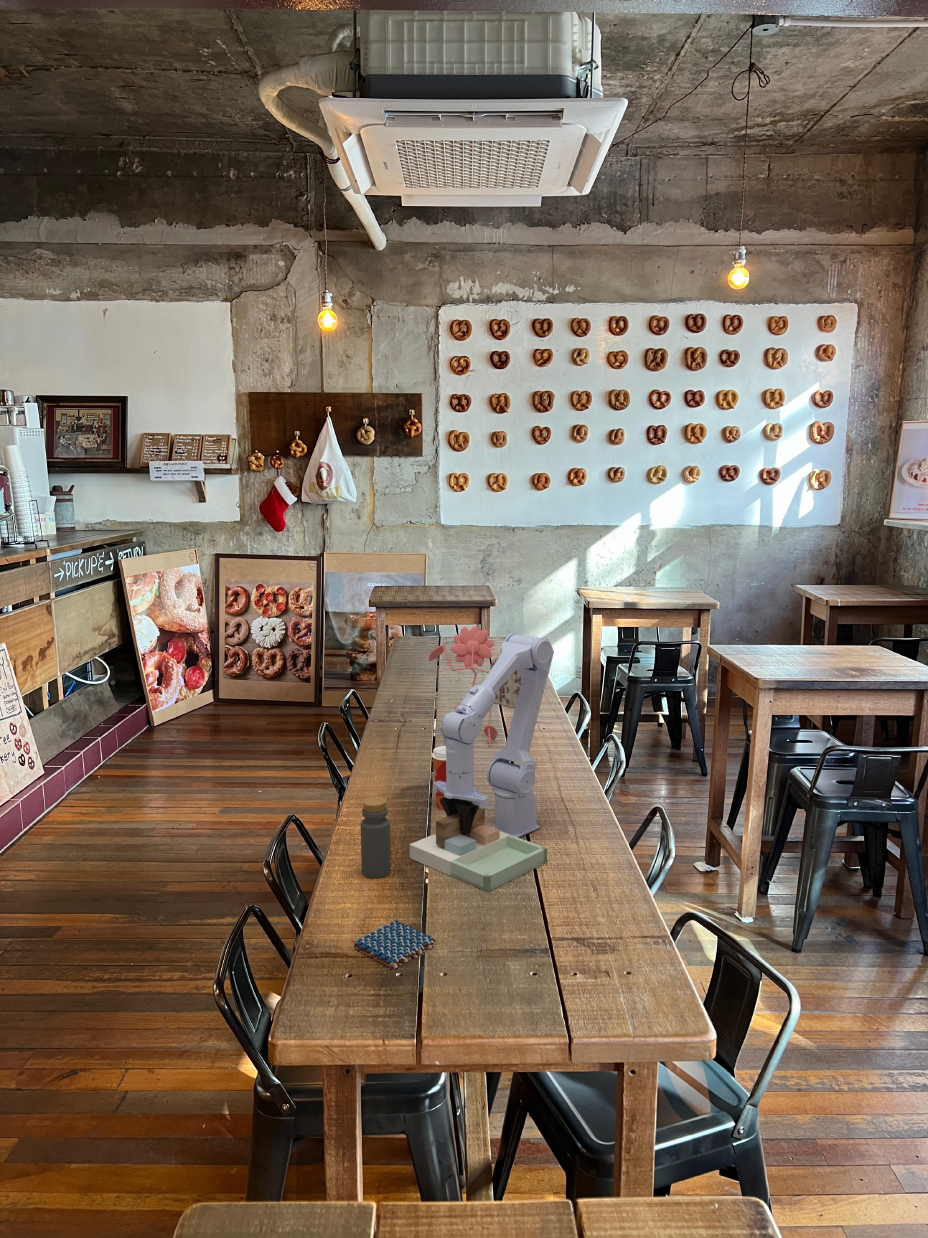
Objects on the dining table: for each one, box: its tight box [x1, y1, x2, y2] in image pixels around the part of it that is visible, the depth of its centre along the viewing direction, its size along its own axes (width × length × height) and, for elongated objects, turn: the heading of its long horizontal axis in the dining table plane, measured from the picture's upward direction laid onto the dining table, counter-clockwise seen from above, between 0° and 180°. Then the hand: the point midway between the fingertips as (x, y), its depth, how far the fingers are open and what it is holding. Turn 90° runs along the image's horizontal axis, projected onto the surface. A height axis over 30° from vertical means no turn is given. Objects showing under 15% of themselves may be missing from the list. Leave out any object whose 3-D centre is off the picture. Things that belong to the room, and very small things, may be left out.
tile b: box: [445, 834, 476, 856], centre depth 178 cm, size 4×4×2 cm
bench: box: [409, 831, 510, 876], centre depth 183 cm, size 18×12×3 cm, turn 136°
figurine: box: [428, 626, 498, 748], centre depth 259 cm, size 15×26×35 cm, turn 94°
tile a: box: [469, 824, 500, 845], centre depth 183 cm, size 4×4×2 cm
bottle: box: [360, 796, 392, 879], centre depth 173 cm, size 6×6×15 cm
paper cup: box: [431, 745, 446, 811], centre depth 209 cm, size 8×8×14 cm
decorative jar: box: [489, 656, 522, 709], centre depth 304 cm, size 12×12×18 cm
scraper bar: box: [435, 808, 486, 848], centre depth 182 cm, size 12×2×5 cm, turn 135°
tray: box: [449, 835, 548, 893], centre depth 175 cm, size 18×10×3 cm, turn 136°
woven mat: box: [353, 919, 436, 970], centre depth 147 cm, size 10×11×2 cm
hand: (460, 831), depth 182 cm, fingers closed on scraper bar, 2 cm apart
